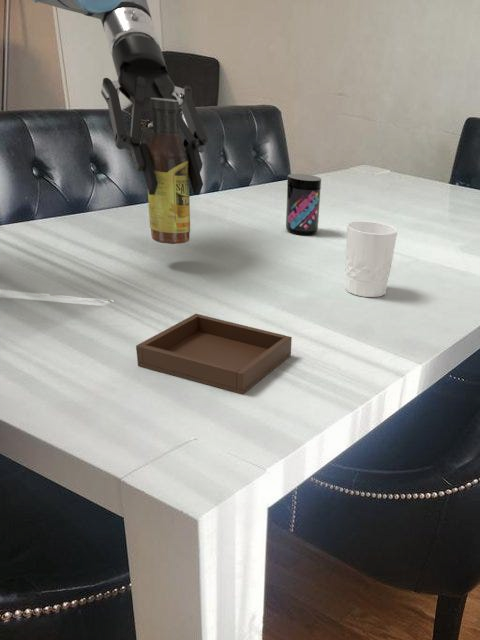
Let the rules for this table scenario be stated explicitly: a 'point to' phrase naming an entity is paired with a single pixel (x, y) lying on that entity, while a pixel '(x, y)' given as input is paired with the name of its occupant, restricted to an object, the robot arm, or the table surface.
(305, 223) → the supplement container
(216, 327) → the tray
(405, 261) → the table surface
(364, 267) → the white cup
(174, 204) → the sauce bottle
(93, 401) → the table surface
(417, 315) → the table surface
